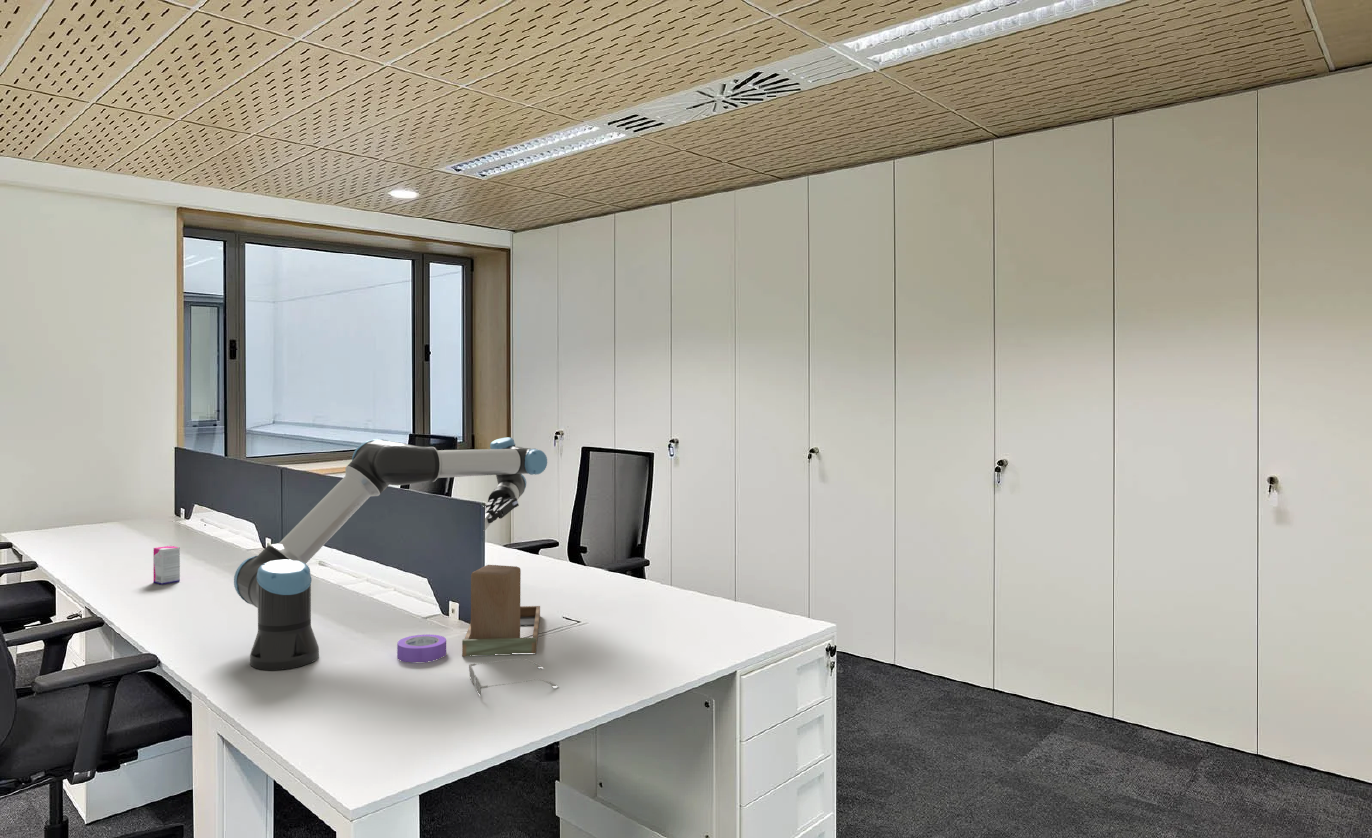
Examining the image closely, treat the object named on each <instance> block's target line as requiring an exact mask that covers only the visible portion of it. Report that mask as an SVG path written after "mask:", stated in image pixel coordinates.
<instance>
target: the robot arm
mask: <svg viewBox="0 0 1372 838" xmlns="http://www.w3.org/2000/svg"><path fill="white" fill-rule="evenodd" d="M547 465H548V457H547V455H546V453H545V452H544V451H543V450H541V449H538V448H531V447H529V448H528V447H523V446H516V443H515V440H514V439H513V438H512V437H510V436H509V437H500V438H497V439H495V440H493V441H491V442H490V445H489V449H488V448H487V449H485V448H484V449H482V448H480V449H444V450H443V449H441V450H438V449H437V448H436V447H434V446H419V445H413V444H408V443H403V442H397V441H396V442H395V441H389V440H388V439H383V438H377V439H370V440H367V441H364V442H362V443H361V444H360V445H358V446H357V448H356V449H355V450H354V451H353V454H352V457H351V461H350V462H349V464H347V465H346V466H345V475H344V476H343V478H342V479H341V480H340V481H339V482H338V483H336V485H335V486H334V487H333V488H332V489H331V490H329V492H328V493H327V494H326V495H325V496H324V497H323V498H322V499H321V500H320V501H319V502H318V503H317V504H316V505H315V506H314V507H313V508H312V509H311V510H310V511H309V512H308V513H307V514H306V515H305V516H304V517H303V518H302V519H301V520H300V521H299V522H298V523H297V524H296V525H295V526H294V527H293V528H292V529H291V530H290V531H289V532H288V533H287V534H286V535H285V536H284V537H283V538H282V540H281V541H279V542H278V543H271V544H270V543H269V544H268V545H267V546H266V547H265V548H264V549H263V550H262V551H261V552H259V554H258V555H254V556H251V557H249V558H247V559H245V560H243V562H241V563H240V564H239V566H238V567H237V568H236V570H235V573H234V577H233V585H234V586H233V587H234V590H235V592H236V594H237V595H238V596H239V598H241V599H242V601H244V602H245V603H247V604H249V605H252V606H254V607H255V608H257V634H256V637H255V639H254V642H253V645H252V648H251V651H250V654H249V663H250V664H249V665H250V666H251V667H252V668H254V669H257V670H261V671H262V670H264V671H279V670H280V671H281V670H291V669H294V668H295V669H296V668H299V667H303V666H307V665H309V664H311V663H313V662H315V661H317V660H318V659H319V657H320V648H319V643H318V641H317V639H316V637H315V633H314V630H313V628H312V617H311V616H312V576H311V575H312V574H311V569H310V567H309V565H308V564H307V563H309V561H310V560H311V559H312V558H313V557H314V556H315V555H316V554H317V553H318V552H319V551H320V550H321V549H322V547H324V545H325V544H327V542H328V541H329V540H330V539H331V538H333V536H334V535H335V534H336V533H337V532H338V531H339V530H340V529H341V528H342V527H343V525H345V524H346V523H347V521H349V520H350V518H351V517H352V516H353V515H354V514H355V513H356V512H357V511H358V510H359V509H360V508H361V507H362V506H363V505H364V504H365V503H366V502H367V501H368V499H370V497H379V496H380V495H381V494H382V493H383V492H384V491H385V490H386V489H387V488H388V487H389V486H406V485H407V486H408V485H415V484H422V483H434V482H436V480H437V481H438V479H441V478H442V479H443V478H445V479H446V478H461V477H479V476H480V477H481V476H495V477H496V480H497V486H496V487H495V488H494V489H493V491H491V493H490V494H489V496H488V500H487V502H485V504H484V505H485V506H486V509H485V530H484V531H487V529H488V528H489V526H490V525H491V524H492V523H494V522H495V521H496V520H497V519H503V518H505V517H506V515H508V514H509V513H510V512H512V511H513V510H514V509H516V508H517V507H519V505H520V504H519V501H518V500H519V499H520V498H521V496H522V495H523V494H524V493H525V490H526V488H527V479H526V477H525V476H524V475H525V474H528V475H532V476H533V475H534V476H535V475H540V474H542V473H543V472H545V470H546V468H547Z"/></svg>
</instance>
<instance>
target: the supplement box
mask: <svg viewBox="0 0 1372 838" xmlns="http://www.w3.org/2000/svg"><path fill="white" fill-rule="evenodd" d="M180 551H181V549H180V547H178V546H175V545H174V546H172V545H167V546H158V547H153V584H157V585H161V586H166V585H170V584H176V583H178V582H180V581H181V579H180V577H181V574H180V573H181V568H180V567H181V565H180V564H181V563H180V562H181V556H180V555H181V552H180Z"/></svg>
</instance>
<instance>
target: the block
mask: <svg viewBox="0 0 1372 838" xmlns="http://www.w3.org/2000/svg"><path fill="white" fill-rule="evenodd" d="M521 571H522V569H521V568H520V567H518V566H516V565H515V566H514V565H501V564H500V565H497V564H486V565H484V566H482V567H480V568H478V569H477V570H475V571H472V572H471V574H470V623H471V639H497V638H521V626H520V606H521V575H522V574H521Z"/></svg>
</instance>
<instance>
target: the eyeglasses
mask: <svg viewBox="0 0 1372 838" xmlns="http://www.w3.org/2000/svg"><path fill="white" fill-rule="evenodd" d="M517 660H519V661H525V662H529V663H532V664H533V665H534V666H536V667H543V666H542V665H541V664H539V663H537V662H535V661H533V660H530V659H526V658H511V659H509V661H517ZM504 661H505V662H506V661H507V659H503V660H501V662H504ZM496 662H499V660H497V661H493V663H496ZM490 663H492V661H487V662H486V664H490ZM482 664H485V662H481V663H479V665H482ZM476 665H478V663H473V662H472V663H468V671H469V678H470V677H471V679H470V681H471V680H472V681H473V683H474V684H475V690H476V689H477V691H478V693H479V694H480V695H481V696H482V689H488V688H489V687H494V686H495V687H496V686H498V684H494V685H488V684H485V685H482V683H481V681H480V679H479V677H478V676H477V675H476V674H475V670H474V668H473V667H475V666H476ZM472 681H471V682H472ZM532 681H533V682H534V681H541V682H545V683H546V684H549V685H550V686H551V687H552V686H556V685H557V684H555V683H553V682H552V681H549V680H545V679H541V678H540V679H539V678H537V679H536V678H532V679H527V680H522V681H521V683H524V682H526V683H527V682H532ZM473 683H472V684H473ZM517 683H520V681H516V682H514V684H517ZM511 684H513V682H511V683H510V682H508V683H507V685H511ZM505 685H506V683H502V684H500V683H499V686H505ZM477 691H476V692H477ZM478 693H477V694H478Z"/></svg>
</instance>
